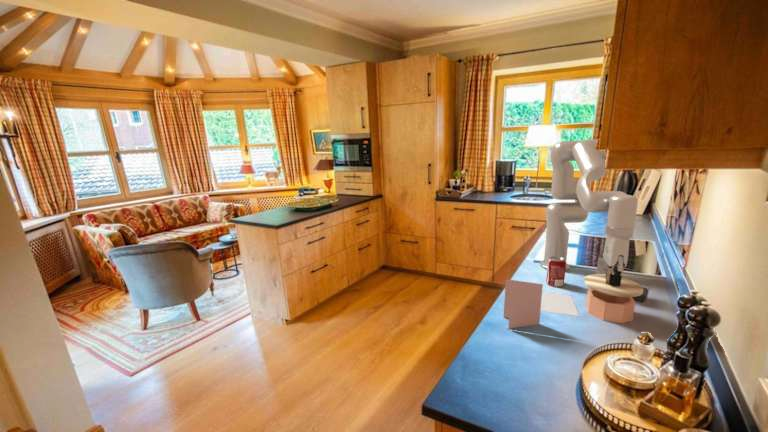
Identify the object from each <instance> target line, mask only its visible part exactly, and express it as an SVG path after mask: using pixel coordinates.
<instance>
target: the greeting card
mask: <svg viewBox="0 0 768 432" xmlns="http://www.w3.org/2000/svg"><path fill="white" fill-rule="evenodd" d="M543 284H544V283H538V282H537V283H535V282H527V281H521V280H520V281H519V280H515V279H505V285H504V286H505V287H504V303H503V318H504V319H508V329H507V330H508V331H510V330H511V329H514V328H521V327H528V326H536V325H540V319H541V311H540V310H541V298H542V292H543Z"/></svg>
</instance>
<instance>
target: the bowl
mask: <svg viewBox="0 0 768 432" xmlns="http://www.w3.org/2000/svg"><path fill="white" fill-rule="evenodd" d="M635 306H636V301H634V299H633V298H632V297H619V296H612V295H608V294H604V293H601V292H598V291H595V290H593V289H591V288H589V289H587V293H586V301H585V307H586V311H587V314H589V315H591V316H593V317H596V318H597V319H599V320H602V321H603V322H610V323H618V324H625V323H627V322H632V321H633V318H634V313H635Z"/></svg>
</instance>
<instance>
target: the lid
mask: <svg viewBox="0 0 768 432" xmlns="http://www.w3.org/2000/svg"><path fill="white" fill-rule="evenodd" d="M611 272H612V268H608V269H607V275H606V274H596V273H593V274H587V275H586V276H584V277H583V284H584V285H585V286H586V287H587V288H589V289H593V290H595V291H598V292H601V293H604V294H608V295H612V296H619V297H636V296H640V295H642V294H643V286H642V285H641V284H639V283H638V282H636V281H634V280H631V279H629V278H626V277H623V276H622V278H621V285H620V286H612V285H609V279H610V274H611ZM605 277H606V278H605Z"/></svg>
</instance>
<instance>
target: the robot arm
mask: <svg viewBox="0 0 768 432" xmlns="http://www.w3.org/2000/svg"><path fill="white" fill-rule="evenodd" d="M598 140H599V139H584V140H583V139H582V140H565V141H559V142H556V143H555V144H554V145H553V146H552V147H551V151H550V161H551V165H552V166H551V167H552V179H551V189H550V191H551V192H550V193H551V197H552V198H553V199H555V200H556V201H557V200H558V201H559V202H552V203H550V204H548V205H547V207H546V208H545V217H546V233H545V245H544V246H545V247H544V258H543V260H541V261H540V264H539V265H540V266H541V268H543V269H545V270H547V267H548V261H549V259H550V257H552V256H558V257H562V258H564V259H565V263H566V269H565V272H566V271H569V269H570V265H569V264H568V263H567V258H568V248H569V239H570V238H569V237H570V231H569V229H568V228H567V226H566V225H565V224H570V223H571V224H572V223H573V224H575V223H576V224H577V223H583V222H585V221H587V219H588V216H589V213H592V214H593V213H607V219H606V226H605V236H606V238H605V242H604V247H603V248H604V249H603V252H604V253H603V252H602V253H603V258H604V260H605V261H606V263H607V268H612V272H611V274H610V279H609V285H612V286H620V285H621V278H622V277H623V272H624V268H626V267H627V264H628V261H629V253H630V251H629V249H630V239H633V238H634V232H635V223H636V217H637V211H638V210H637V209H638V202H639V201H638V198H637V196H634V195H631V194H627V193H626V192H623V191H621V190H619V191H618V190H598V191H596V190H592V188H591V183H593V182H595V181H597V180H600V179H602V178H603V177H604V176H605V175H606V174H607V172H608V170H609V168H608V169H605V163H606V161H605V160H606V151H600V150H597V149H596V147H597V143H598ZM571 162H576V165H577V167H578V169H579V171H580V173H581V175H580V177H579V178H574V175H575V168H574V166H573V165H572V163H571ZM572 200H573V201H572ZM560 201H565V202H560ZM566 201H567V202H566ZM569 201H571V202H569ZM617 265H618V266H617ZM606 275H607V270H606ZM605 278H606V277H605Z"/></svg>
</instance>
